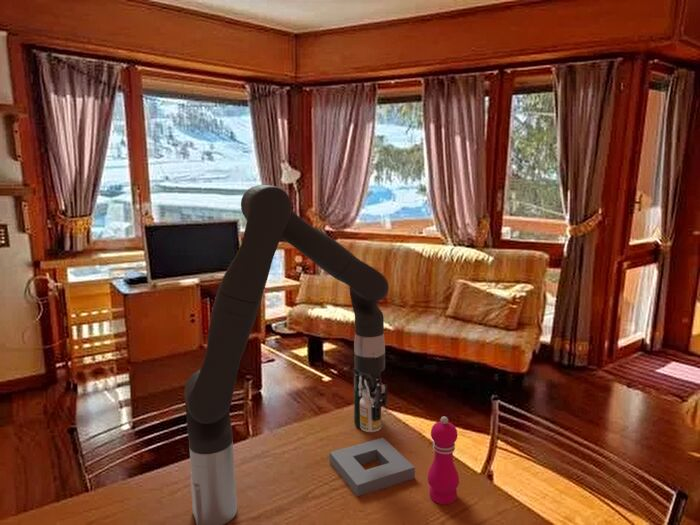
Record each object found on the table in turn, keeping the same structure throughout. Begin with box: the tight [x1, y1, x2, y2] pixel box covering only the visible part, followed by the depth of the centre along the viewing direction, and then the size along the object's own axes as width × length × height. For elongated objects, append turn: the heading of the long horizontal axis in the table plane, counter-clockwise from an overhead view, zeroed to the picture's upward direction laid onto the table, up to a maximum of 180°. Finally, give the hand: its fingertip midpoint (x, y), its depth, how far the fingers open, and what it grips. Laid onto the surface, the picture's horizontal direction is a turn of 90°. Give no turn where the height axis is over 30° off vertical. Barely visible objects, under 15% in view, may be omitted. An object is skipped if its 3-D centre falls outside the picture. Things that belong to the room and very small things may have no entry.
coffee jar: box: [353, 379, 360, 428], centre depth 153 cm, size 10×8×19 cm
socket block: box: [329, 437, 416, 498], centre depth 130 cm, size 16×16×3 cm
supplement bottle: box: [359, 389, 382, 433], centre depth 127 cm, size 5×5×10 cm
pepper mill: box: [427, 416, 460, 505], centre depth 117 cm, size 7×7×20 cm
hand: (370, 414), depth 127 cm, fingers closed on supplement bottle, 5 cm apart
